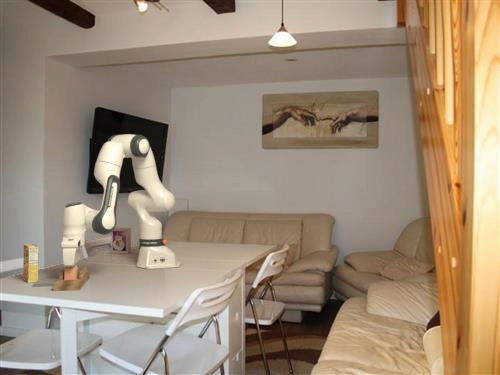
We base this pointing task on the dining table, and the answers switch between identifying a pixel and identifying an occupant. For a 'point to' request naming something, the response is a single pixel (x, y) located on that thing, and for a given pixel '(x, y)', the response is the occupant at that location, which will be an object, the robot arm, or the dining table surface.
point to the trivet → (45, 282)
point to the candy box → (30, 263)
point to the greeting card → (121, 240)
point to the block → (70, 273)
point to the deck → (72, 281)
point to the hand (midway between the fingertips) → (73, 273)
